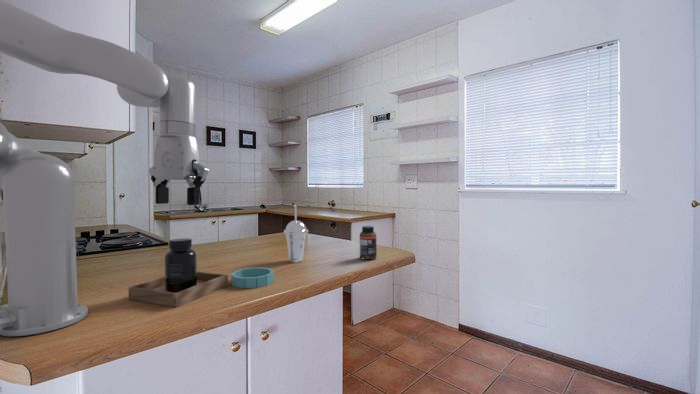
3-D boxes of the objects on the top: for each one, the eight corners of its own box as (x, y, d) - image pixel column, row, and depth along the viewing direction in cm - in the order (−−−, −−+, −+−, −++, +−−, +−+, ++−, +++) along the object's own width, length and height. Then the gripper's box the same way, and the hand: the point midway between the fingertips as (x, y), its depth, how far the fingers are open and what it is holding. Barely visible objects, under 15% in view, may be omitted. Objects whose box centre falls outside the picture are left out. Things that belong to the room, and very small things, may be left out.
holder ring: (257, 289, 81) (257, 279, 81) (223, 285, 85) (222, 275, 85) (280, 278, 91) (280, 269, 91) (248, 274, 95) (248, 266, 95)
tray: (176, 307, 70) (175, 294, 70) (128, 299, 74) (128, 287, 74) (228, 285, 85) (227, 274, 85) (185, 280, 89) (185, 270, 89)
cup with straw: (313, 259, 114) (313, 201, 113) (298, 265, 106) (298, 203, 105) (293, 257, 118) (293, 201, 117) (277, 262, 110) (276, 202, 109)
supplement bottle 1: (203, 287, 81) (202, 238, 81) (178, 295, 75) (177, 242, 74) (183, 283, 84) (182, 236, 83) (158, 291, 78) (157, 240, 77)
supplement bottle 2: (368, 255, 120) (368, 225, 120) (380, 258, 115) (380, 226, 115) (356, 258, 116) (356, 226, 116) (367, 261, 112) (367, 228, 111)
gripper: (136, 130, 77) (136, 203, 78) (194, 127, 71) (193, 206, 72) (164, 135, 84) (163, 202, 85) (218, 133, 79) (218, 204, 79)
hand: (177, 204), depth 78 cm, fingers open, 9 cm apart
